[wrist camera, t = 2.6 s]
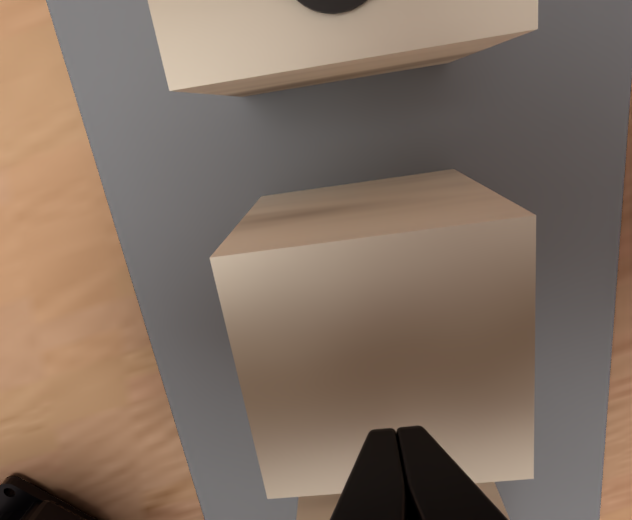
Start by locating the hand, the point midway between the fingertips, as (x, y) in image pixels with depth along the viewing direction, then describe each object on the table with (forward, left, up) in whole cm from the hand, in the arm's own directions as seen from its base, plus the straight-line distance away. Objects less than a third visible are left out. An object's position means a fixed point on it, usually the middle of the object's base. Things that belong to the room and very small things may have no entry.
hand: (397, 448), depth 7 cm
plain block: (0, 0, -8) cm, 8 cm away
